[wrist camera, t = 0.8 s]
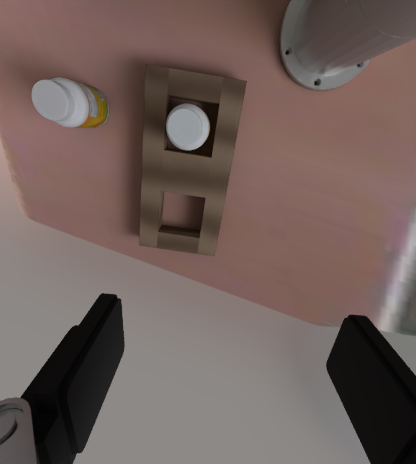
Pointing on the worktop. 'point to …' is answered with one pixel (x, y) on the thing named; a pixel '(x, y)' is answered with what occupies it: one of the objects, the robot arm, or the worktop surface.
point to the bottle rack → (186, 157)
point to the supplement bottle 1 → (70, 103)
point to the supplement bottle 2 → (187, 126)
